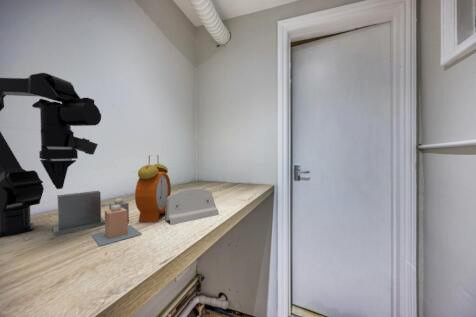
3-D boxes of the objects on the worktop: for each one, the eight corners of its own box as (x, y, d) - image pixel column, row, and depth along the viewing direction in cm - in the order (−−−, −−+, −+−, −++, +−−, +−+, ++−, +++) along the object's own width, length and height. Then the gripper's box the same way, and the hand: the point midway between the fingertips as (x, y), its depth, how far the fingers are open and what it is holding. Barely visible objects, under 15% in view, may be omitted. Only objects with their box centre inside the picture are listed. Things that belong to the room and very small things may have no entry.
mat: (91, 235, 50) (91, 234, 50) (129, 225, 57) (129, 225, 57) (99, 246, 44) (99, 245, 44) (141, 234, 50) (141, 233, 50)
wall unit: (53, 230, 53) (52, 195, 53) (101, 220, 61) (101, 189, 61) (54, 236, 50) (53, 198, 50) (106, 224, 58) (105, 191, 57)
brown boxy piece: (105, 234, 50) (104, 205, 50) (122, 229, 53) (122, 202, 53) (109, 238, 47) (108, 208, 47) (127, 233, 50) (127, 205, 50)
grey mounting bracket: (169, 225, 57) (165, 190, 59) (165, 226, 61) (161, 193, 63) (219, 214, 67) (214, 185, 69) (213, 215, 70) (208, 188, 73)
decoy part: (109, 223, 59) (109, 199, 59) (124, 220, 62) (124, 197, 61) (113, 226, 56) (112, 201, 56) (128, 223, 59) (128, 199, 59)
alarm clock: (155, 223, 58) (154, 155, 58) (134, 223, 58) (133, 155, 58) (171, 210, 71) (171, 155, 71) (154, 210, 72) (154, 155, 71)
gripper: (102, 125, 50) (103, 187, 51) (88, 131, 63) (89, 180, 64) (40, 120, 42) (42, 193, 43) (38, 128, 56) (40, 184, 56)
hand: (57, 186), depth 52 cm, fingers open, 9 cm apart
